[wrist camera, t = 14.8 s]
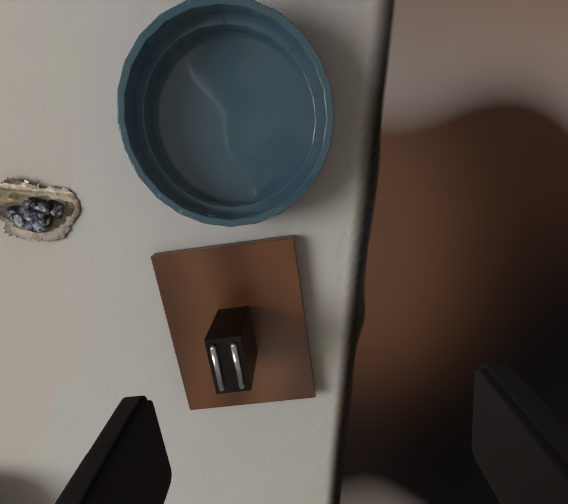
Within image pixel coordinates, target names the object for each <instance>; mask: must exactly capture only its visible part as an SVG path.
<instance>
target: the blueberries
mask: <svg viewBox="0 0 568 504" xmlns="http://www.w3.org/2000/svg"><path fill="white" fill-rule="evenodd" d="M24 181H25V182H21V181H18V180H15V179H14V178H11V179H9V178H7V180H4V182H2V183H1V185H0V220H1V219H2V221H5V222H6V225H5V228H4V229H6V231H5V232H4V233H9V236H12V235H15V236H16V237H17V238H18V237H19V238H21V239H25V240H29V241H31V240H32V239H35V240H36V239H37V240H38V242H39V241H41V240H43V241H44V242H45V241H46V242H49V241H53V240H55V239H56V240H57V239H59V238H62V239H63V238H64V237H65V235H66V232H67V233H68V232H70V231H69V230H70V227H69V225H71V224H73V223H72V222H73V221H74V219H76V216H78V215H79V212H80V211H79V209H80V204H79V203H78V202H79V200H77V199H76V198H75V195H74V193H72V192H70V191H69V190H68V189H66V188H64V187H63V188H62V189H59V187H58V189H57V188H56V187H52V185H51V186H50V187H47V188H46V189H45V188H43V189H42V188H41V189H40V188H39V185H40V183H39V184H36V185H37V186H34V185H33V186H32V185H31V184H28V183H29V182H28V181H27V180H24Z"/></svg>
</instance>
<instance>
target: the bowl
mask: <svg viewBox="0 0 568 504" xmlns="http://www.w3.org/2000/svg"><path fill="white" fill-rule="evenodd" d="M117 91H118V92H117V112H118V125H119V129H120V133H121V137H122V141H123V145H124V149H125V152H126V154H127V155H128V157H129V159H130V161H131V163H132V165H133V167H134V169H135V171H136V172H137V174H138V176H139V178H140V179H141V180H142V181H143V182H144V183H145V184H146V186H147V187H148V188H149V189H150V190H151V191H152V192H153V194H154V195H155V196H156V197H157V198H158V199H160V200H161V201H162V202H164V203H165V204H167V205H168V206H169V207H171V208H172V209H174V210H175V211H176V212H178V213H180V214H182V215H184V216H187V217H189V218H192V219H194V220H197V221H199V222H202V223H205V224H212V225H220V226H228V227H233V226H240V225H248V224H255V223H259V222H261V221H263V220H266V219H268V218H270V217H273V216H275V215H278V214H280V213H282V212H283V211H284V210H286V209H287V208H288V207H289V206H291V205H292V204H293V203H295V202H296V201H297V200H298V199H300V198H301V197H302V196H303V195H304V193H305V192H306V191H307V190H308V188H309V187H310V186H311V184H312V183H313V182H314V180H315V179H316V178H317V176H318V175H319V173H320V171H321V168H322V166H323V163H324V161H325V159H326V156H327V154H328V152H329V148H330V144H331V137H332V131H333V124H334V111H333V101H332V91H331V86H330V83H329V80H328V78H327V75H326V72H325V69H324V67H323V64H322V61H321V59H320V57H319V55H318V54H317V53H316V51H315V50H314V48H313V47H312V45H311V44H310V42H309V41H308V39H307V38H306V37H305V35H304V34H303V32H302V31H301V30H300V29H298V28H297V27H296V26H295V25H294V24H292V23H291V22H290V21H289V20H288V19H287V18H285V17H284V16H283V15H282V14H281V13H279V12H277V11H276V10H274V9H272V8H270V7H268V6H265V5H263V4H261V3H259V2H256V1H254V0H186V1H184V2H182V3H181V4H179V5H177V6H175V7H173V8H171V9H169V10H167V11H165V12H163V13H162V14H160V15H159V16H158V17H157V18H156V19H155V20H154V21H153V22H152V23H151V24H150V25H149V26H148V27H147V28H146V29H145V30H144V31H143V32H142V33H141V34H140V36H138V38H137V40H136V42H135V44H134V45H133V47H132V49H131V51H130V53H129V54H128V56H127V58H126V60H125V62H124V66H123V70H122V74H121V78H120V82H119V86H118V90H117Z"/></svg>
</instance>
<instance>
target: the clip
mask: <svg viewBox="0 0 568 504" xmlns="http://www.w3.org/2000/svg"><path fill="white" fill-rule="evenodd" d="M204 343H205V347H206V352H207V356H208V360H209V365H210V369H211V373H212V378H213V382H214V386H215V391H216V394H223V393H233V392H242V391H251V389H252V383H253V378H254V372H255V366H256V360H257V355H258V352H257V347H256V341H255V336H254V331H253V325H252V320H251V315H250V309H249V306H244V307H236V308H228V309H219V310H218V311H217V313H216V315H215V317H214V319H213V322H212V324H211V326H210V328H209V330H208V332H207V335H206V337H205V339H204Z"/></svg>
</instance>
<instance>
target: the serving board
mask: <svg viewBox="0 0 568 504" xmlns="http://www.w3.org/2000/svg"><path fill="white" fill-rule="evenodd" d="M151 259H152V263H153V267H154V271H155V275H156V279H157V283H158V287H159V291H160V294H161V298H162V302H163V306H164V310H165V314H166V318H167V322H168V325H169V329H170V333H171V337H172V341H173V345H174V349H175V353H176V357H177V360H178V364H179V368H180V372H181V376H182V380H183V384H184V388H185V392H186V395H187V399H188V403H189V407H190V410H195V409H205V408H215V407H225V406H234V405H244V404H254V403H264V402H274V401H283V400H293V399H303V398H313V397H316V394H315V385H314V378H313V371H312V364H311V356H310V349H309V342H308V335H307V328H306V321H305V314H304V306H303V299H302V292H301V285H300V278H299V271H298V264H297V256H296V249H295V242H294V236H293V235H289V236H282V237H274V238H267V239H259V240H252V241H244V242H236V243H229V244H221V245H214V246H206V247H199V248H191V249H184V250H176V251H168V252H161V253H155V254H154V255H152V256H151ZM244 306H249V309H250V315H251V320H252V325H253V331H254V336H255V341H256V347H257V352H258V355H257V360H256V366H255V372H254V378H253V383H252V389H251V391H242V392H233V393H223V394H216V391H215V386H214V382H213V378H212V373H211V369H210V365H209V360H208V356H207V352H206V347H205V343H204V339H205V337H206V335H207V332H208V330H209V328H210V326H211V324H212V322H213V319H214V317H215V315H216V313H217V311H218V310H219V309H228V308H236V307H244Z"/></svg>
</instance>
